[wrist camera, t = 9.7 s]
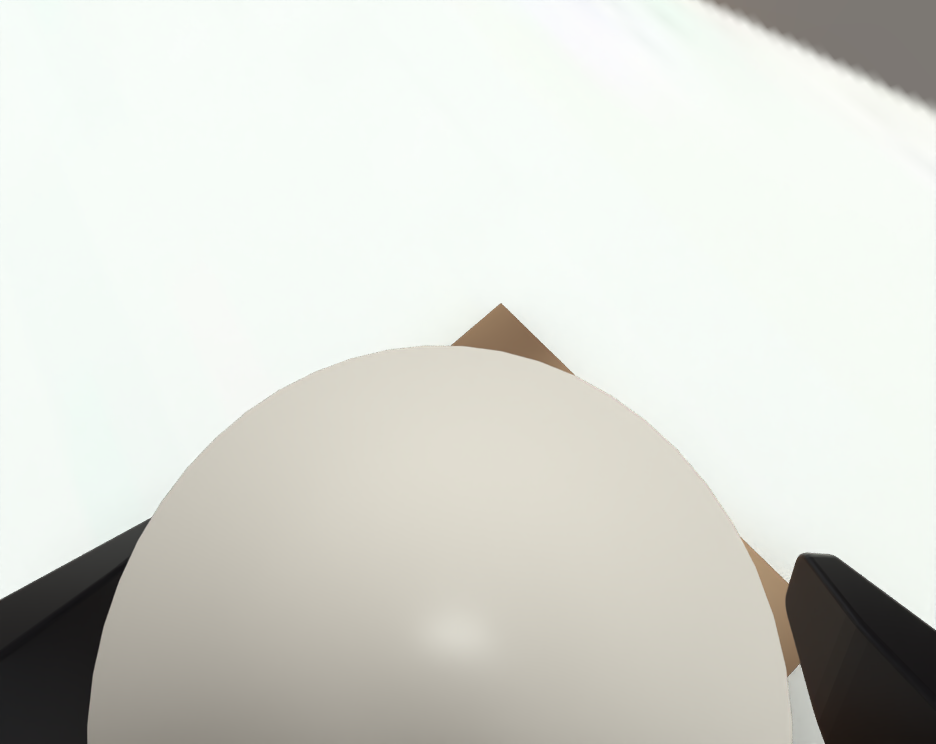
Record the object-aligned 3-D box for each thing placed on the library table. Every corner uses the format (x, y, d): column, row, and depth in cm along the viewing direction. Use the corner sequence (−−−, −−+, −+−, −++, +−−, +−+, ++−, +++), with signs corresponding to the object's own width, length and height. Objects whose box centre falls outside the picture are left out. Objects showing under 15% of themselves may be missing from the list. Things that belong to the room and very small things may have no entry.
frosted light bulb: (606, 557, 16) (892, 526, 4) (534, 715, 15) (598, 1408, 3) (467, 481, 17) (327, 258, 5) (390, 624, 16) (-55, 819, 4)
